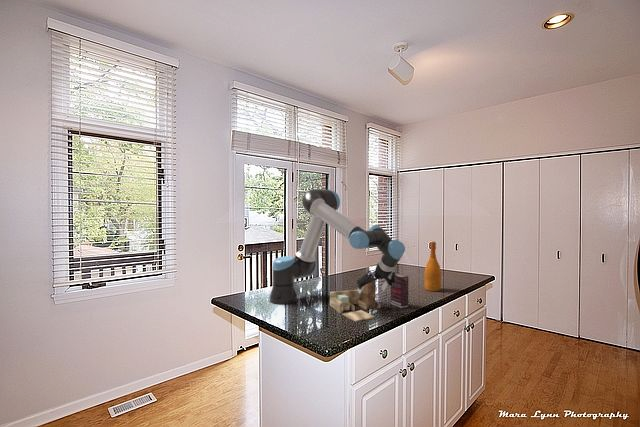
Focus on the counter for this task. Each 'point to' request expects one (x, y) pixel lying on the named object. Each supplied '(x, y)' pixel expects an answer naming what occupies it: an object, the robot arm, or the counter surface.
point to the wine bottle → (432, 271)
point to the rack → (353, 299)
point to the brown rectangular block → (369, 294)
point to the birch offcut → (346, 306)
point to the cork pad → (358, 315)
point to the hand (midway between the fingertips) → (371, 290)
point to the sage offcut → (343, 298)
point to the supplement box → (400, 291)
